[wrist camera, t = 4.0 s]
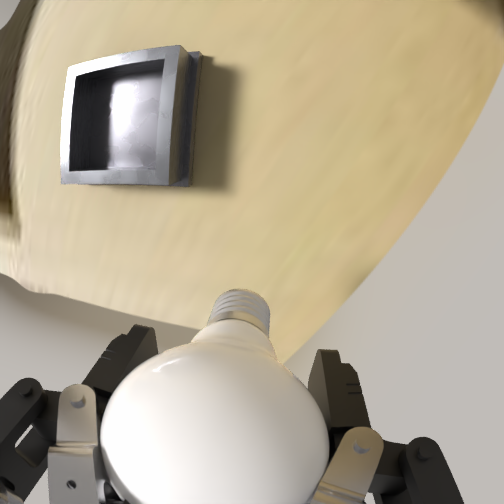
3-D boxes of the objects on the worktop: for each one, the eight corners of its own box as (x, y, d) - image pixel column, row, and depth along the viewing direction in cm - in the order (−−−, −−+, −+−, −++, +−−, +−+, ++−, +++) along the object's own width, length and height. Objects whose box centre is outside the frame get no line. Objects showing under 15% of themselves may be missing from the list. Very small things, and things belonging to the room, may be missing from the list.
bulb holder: (91, 70, 18) (65, 63, 15) (202, 55, 18) (188, 38, 14) (84, 182, 22) (57, 190, 19) (191, 185, 22) (175, 192, 18)
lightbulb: (290, 361, 15) (289, 557, 5) (178, 340, 15) (103, 520, 5) (323, 259, 12) (397, 525, 2) (184, 232, 12) (14, 447, 2)
